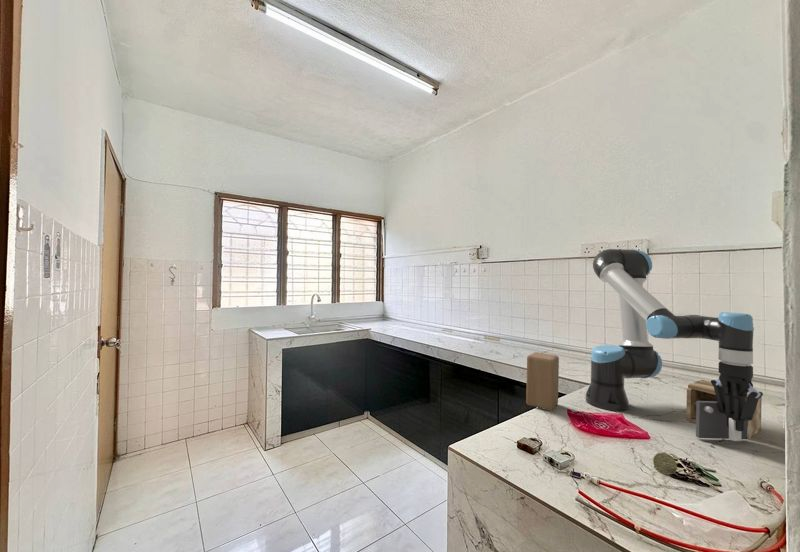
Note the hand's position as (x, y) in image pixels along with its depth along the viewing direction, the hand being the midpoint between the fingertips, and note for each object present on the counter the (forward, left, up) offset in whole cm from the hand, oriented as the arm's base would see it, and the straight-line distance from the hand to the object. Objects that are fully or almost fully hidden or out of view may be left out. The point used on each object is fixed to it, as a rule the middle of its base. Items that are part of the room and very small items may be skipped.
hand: (735, 439), depth 102 cm
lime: (-35, +5, -3) cm, 35 cm away
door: (+3, +3, -2) cm, 5 cm away
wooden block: (-23, +51, -3) cm, 56 cm away
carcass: (+19, +8, -3) cm, 20 cm away
